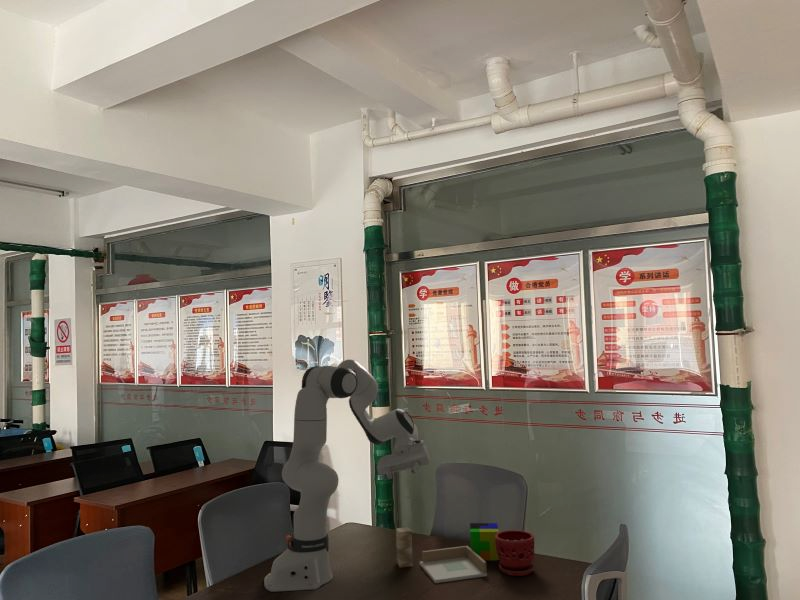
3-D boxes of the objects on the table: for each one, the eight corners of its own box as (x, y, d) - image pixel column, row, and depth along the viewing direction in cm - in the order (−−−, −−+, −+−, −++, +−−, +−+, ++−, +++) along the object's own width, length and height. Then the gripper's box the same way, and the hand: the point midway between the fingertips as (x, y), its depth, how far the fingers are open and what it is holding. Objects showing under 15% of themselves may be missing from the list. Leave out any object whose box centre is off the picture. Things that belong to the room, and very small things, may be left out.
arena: (435, 583, 198) (434, 569, 199) (419, 564, 215) (419, 551, 215) (486, 576, 203) (486, 562, 203) (467, 558, 219) (467, 545, 220)
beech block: (400, 567, 213) (399, 532, 213) (396, 563, 217) (395, 528, 218) (412, 566, 214) (411, 530, 214) (409, 561, 218) (408, 527, 219)
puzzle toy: (498, 550, 227) (497, 523, 227) (499, 560, 217) (498, 531, 217) (470, 550, 228) (470, 523, 228) (471, 560, 218) (470, 531, 218)
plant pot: (541, 568, 209) (539, 532, 209) (526, 581, 198) (525, 543, 199) (505, 561, 216) (504, 526, 217) (489, 573, 205) (488, 537, 206)
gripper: (377, 451, 237) (371, 473, 224) (427, 439, 233) (424, 461, 220) (382, 464, 239) (377, 487, 226) (432, 452, 235) (430, 475, 222)
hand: (401, 474), depth 223 cm, fingers open, 8 cm apart
